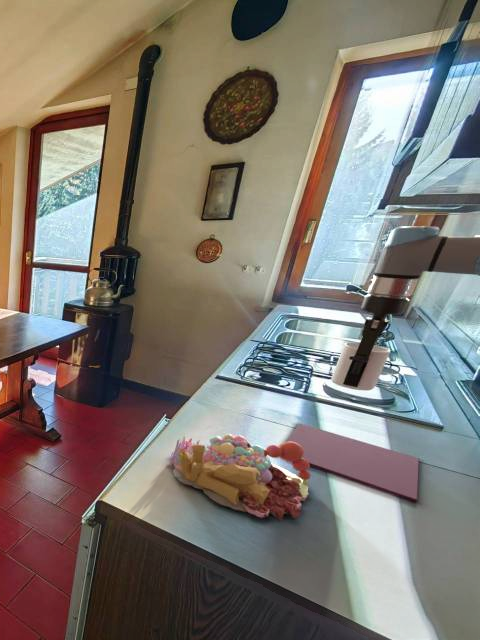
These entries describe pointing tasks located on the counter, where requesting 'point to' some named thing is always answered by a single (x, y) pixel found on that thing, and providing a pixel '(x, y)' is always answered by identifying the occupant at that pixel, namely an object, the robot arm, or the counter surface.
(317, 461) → the mat
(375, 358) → the cup
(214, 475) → the food platter
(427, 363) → the counter surface
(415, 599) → the counter surface
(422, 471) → the counter surface
